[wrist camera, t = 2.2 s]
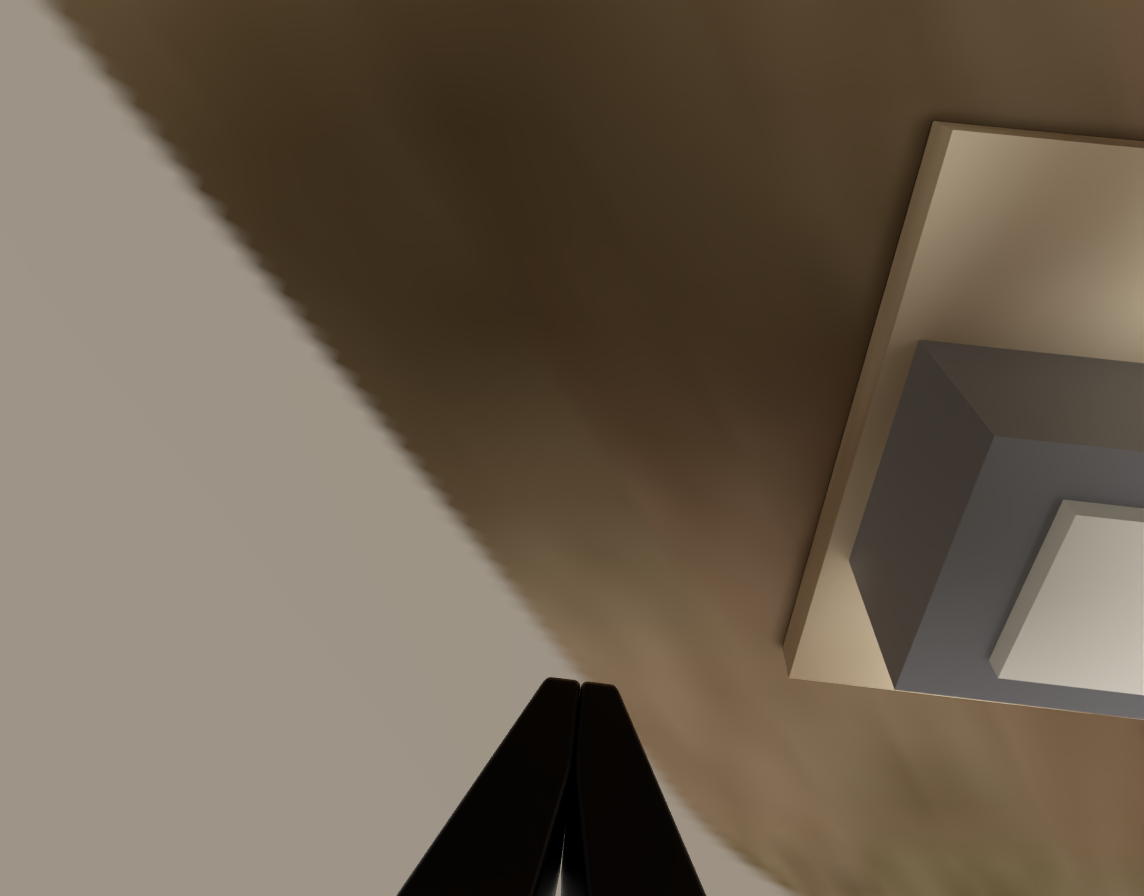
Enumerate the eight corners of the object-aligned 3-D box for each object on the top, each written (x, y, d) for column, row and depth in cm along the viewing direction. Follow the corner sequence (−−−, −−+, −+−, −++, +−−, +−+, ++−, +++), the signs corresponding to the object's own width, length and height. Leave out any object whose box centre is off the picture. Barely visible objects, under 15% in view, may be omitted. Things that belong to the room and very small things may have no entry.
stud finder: (1317, 381, 14) (1534, 507, 11) (1186, 599, 17) (1328, 758, 13) (919, 339, 14) (1005, 450, 11) (848, 560, 17) (900, 707, 13)
